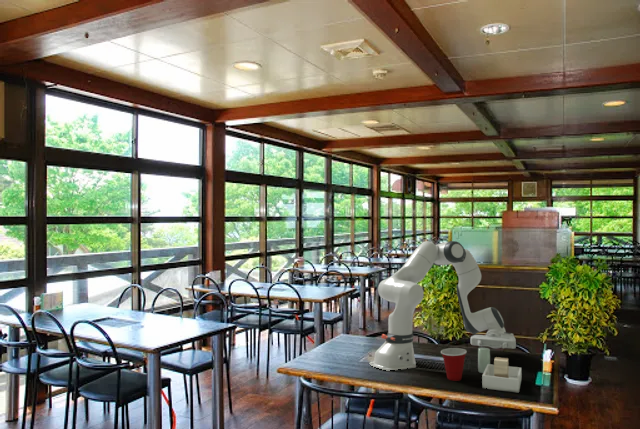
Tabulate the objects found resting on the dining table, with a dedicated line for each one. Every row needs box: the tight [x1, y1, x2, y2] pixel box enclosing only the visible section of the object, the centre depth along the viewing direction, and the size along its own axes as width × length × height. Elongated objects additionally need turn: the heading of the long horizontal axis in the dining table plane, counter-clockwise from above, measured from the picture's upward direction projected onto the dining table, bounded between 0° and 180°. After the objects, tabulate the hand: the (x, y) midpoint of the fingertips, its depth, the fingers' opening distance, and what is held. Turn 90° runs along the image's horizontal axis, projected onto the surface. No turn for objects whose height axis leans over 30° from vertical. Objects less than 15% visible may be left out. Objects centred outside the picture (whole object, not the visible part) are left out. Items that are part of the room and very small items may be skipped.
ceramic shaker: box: [477, 347, 491, 374], centre depth 223 cm, size 5×5×10 cm
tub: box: [481, 363, 523, 394], centre depth 206 cm, size 18×14×5 cm
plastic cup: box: [440, 347, 467, 382], centre depth 213 cm, size 11×11×12 cm
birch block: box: [493, 356, 510, 378], centre depth 203 cm, size 5×5×10 cm
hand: (491, 345), depth 230 cm, fingers open, 8 cm apart
